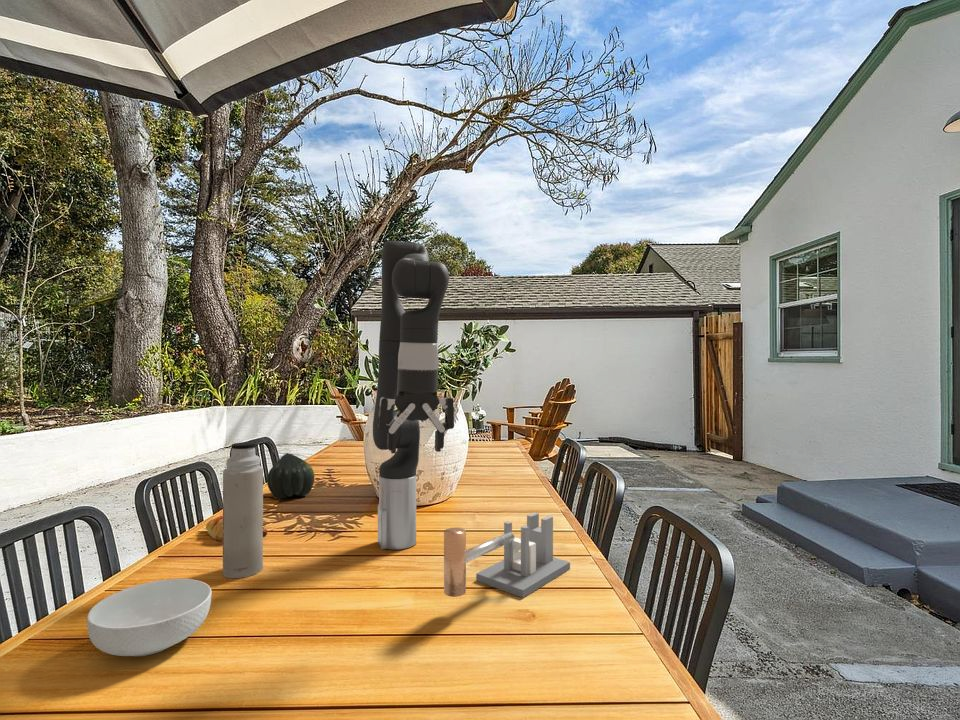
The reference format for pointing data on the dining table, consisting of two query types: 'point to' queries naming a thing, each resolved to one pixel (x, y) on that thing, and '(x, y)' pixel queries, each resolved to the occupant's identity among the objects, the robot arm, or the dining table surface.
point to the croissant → (220, 528)
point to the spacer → (515, 555)
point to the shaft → (464, 557)
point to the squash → (290, 477)
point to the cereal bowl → (149, 616)
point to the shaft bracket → (526, 560)
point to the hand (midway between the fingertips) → (415, 451)
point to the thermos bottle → (242, 512)
